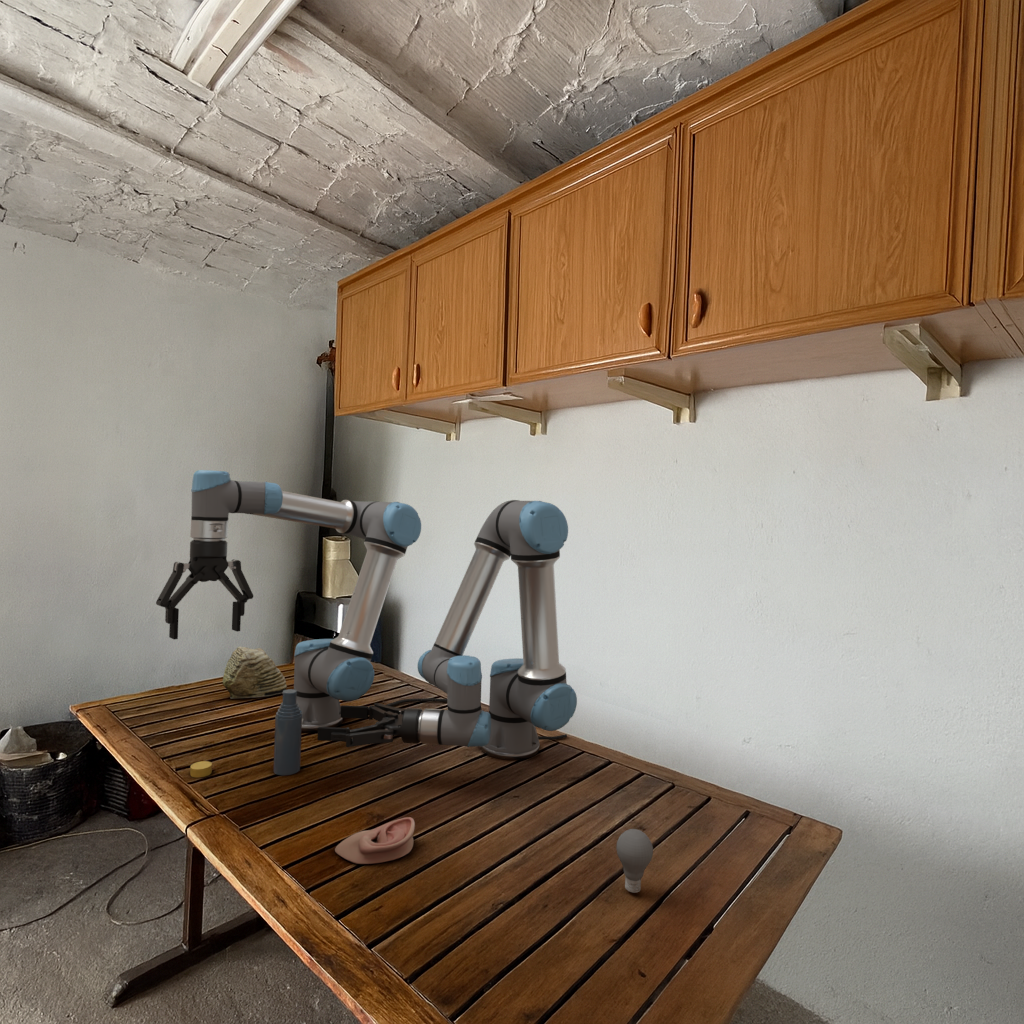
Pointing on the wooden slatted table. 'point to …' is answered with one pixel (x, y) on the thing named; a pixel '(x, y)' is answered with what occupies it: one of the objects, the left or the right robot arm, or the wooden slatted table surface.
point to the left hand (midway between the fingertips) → (205, 634)
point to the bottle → (288, 735)
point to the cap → (201, 769)
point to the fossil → (252, 674)
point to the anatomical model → (379, 843)
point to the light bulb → (634, 857)
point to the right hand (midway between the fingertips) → (330, 721)
